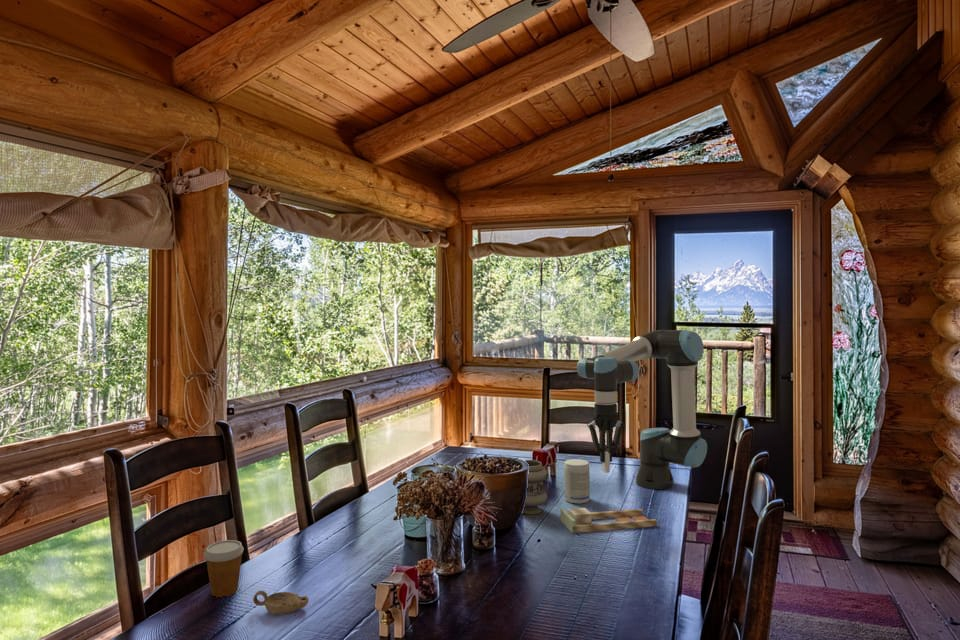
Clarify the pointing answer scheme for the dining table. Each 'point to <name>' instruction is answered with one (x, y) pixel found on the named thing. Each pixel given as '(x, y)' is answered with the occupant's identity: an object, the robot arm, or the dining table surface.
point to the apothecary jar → (535, 489)
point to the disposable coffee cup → (224, 566)
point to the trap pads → (639, 517)
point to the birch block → (580, 516)
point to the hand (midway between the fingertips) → (606, 471)
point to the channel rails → (615, 524)
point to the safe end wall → (567, 520)
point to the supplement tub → (576, 481)
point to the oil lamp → (281, 602)
